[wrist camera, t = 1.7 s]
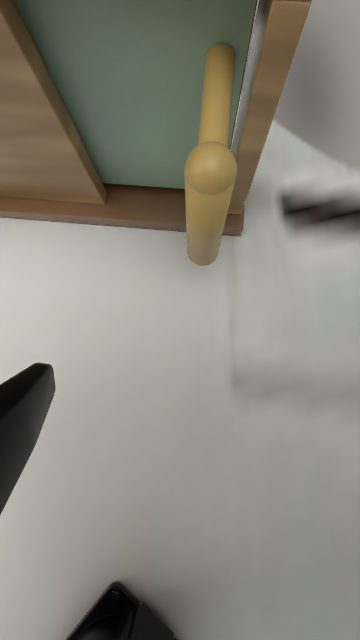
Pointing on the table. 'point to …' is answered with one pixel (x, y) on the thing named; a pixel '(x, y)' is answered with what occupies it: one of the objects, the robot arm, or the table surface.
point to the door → (153, 94)
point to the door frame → (70, 153)
